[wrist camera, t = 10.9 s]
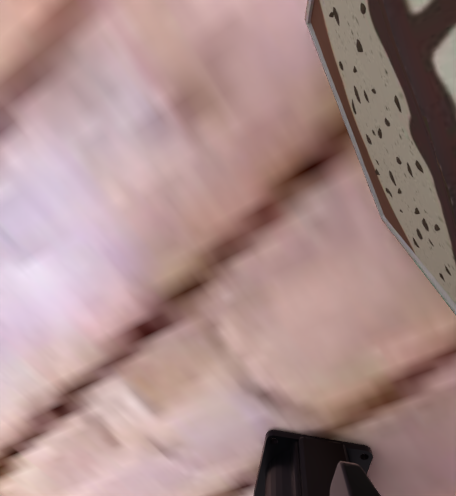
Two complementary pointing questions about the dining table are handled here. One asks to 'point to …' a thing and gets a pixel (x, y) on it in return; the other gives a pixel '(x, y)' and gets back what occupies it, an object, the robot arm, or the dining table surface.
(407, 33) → the food container
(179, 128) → the dining table surface
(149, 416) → the dining table surface
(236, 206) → the dining table surface
